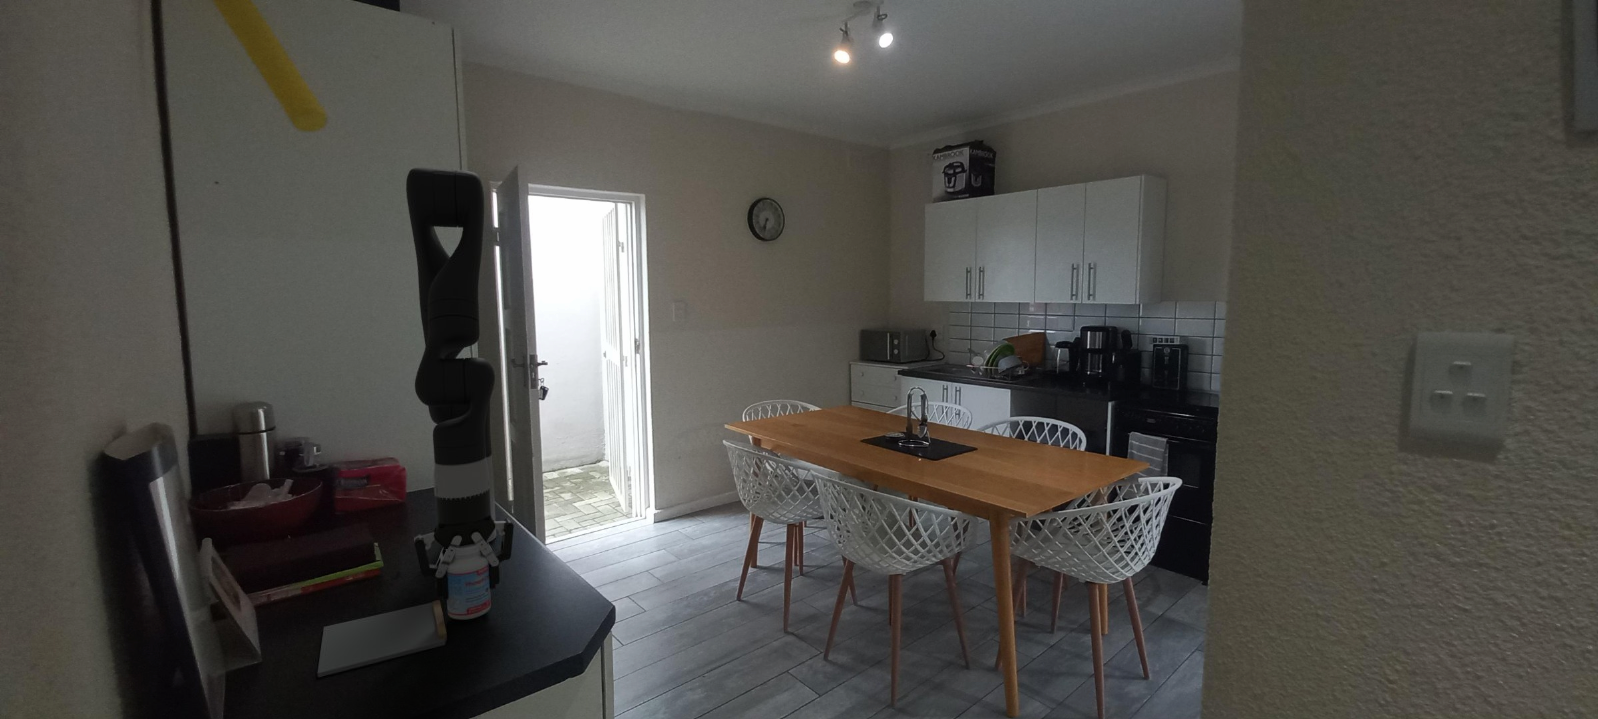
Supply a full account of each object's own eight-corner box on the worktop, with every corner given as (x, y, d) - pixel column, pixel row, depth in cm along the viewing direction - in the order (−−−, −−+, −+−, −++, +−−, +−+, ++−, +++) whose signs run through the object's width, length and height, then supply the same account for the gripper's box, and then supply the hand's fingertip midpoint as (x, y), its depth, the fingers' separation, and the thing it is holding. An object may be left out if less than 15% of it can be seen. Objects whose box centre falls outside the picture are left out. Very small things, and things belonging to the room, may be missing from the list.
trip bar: (433, 608, 107) (432, 601, 107) (440, 607, 108) (439, 599, 107) (439, 643, 97) (438, 635, 97) (447, 641, 97) (446, 633, 97)
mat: (324, 630, 100) (323, 626, 100) (437, 604, 108) (437, 601, 108) (317, 677, 88) (317, 673, 88) (445, 644, 96) (445, 640, 96)
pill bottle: (474, 623, 101) (470, 552, 99) (438, 619, 102) (434, 548, 101) (499, 604, 107) (496, 536, 105) (466, 600, 108) (462, 533, 107)
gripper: (508, 474, 109) (513, 572, 111) (406, 489, 101) (414, 594, 103) (517, 486, 103) (522, 590, 105) (409, 503, 95) (416, 615, 97)
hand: (468, 592), depth 104 cm, fingers closed on pill bottle, 6 cm apart
